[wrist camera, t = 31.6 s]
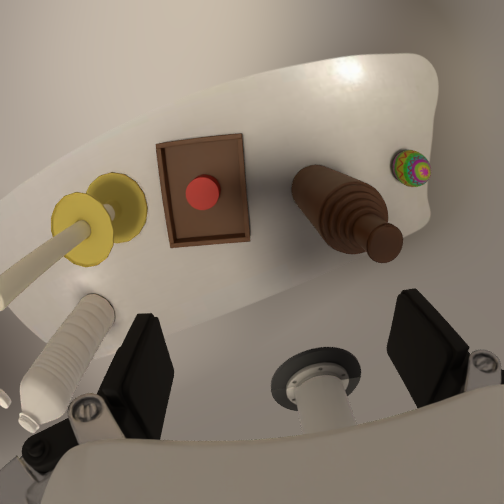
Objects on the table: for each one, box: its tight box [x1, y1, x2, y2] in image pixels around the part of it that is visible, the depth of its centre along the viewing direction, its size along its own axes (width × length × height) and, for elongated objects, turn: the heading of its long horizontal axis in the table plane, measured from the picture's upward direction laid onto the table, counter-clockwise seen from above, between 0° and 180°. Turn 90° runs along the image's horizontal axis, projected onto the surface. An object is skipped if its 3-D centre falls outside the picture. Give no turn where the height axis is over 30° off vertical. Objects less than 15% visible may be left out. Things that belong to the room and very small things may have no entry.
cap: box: [186, 175, 221, 210], centre depth 35 cm, size 4×4×3 cm
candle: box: [0, 172, 148, 311], centre depth 24 cm, size 10×10×27 cm
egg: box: [393, 150, 431, 187], centre depth 33 cm, size 5×5×6 cm
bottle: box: [291, 165, 403, 263], centre depth 28 cm, size 6×6×20 cm
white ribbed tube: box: [0, 294, 115, 433], centre depth 31 cm, size 9×6×25 cm
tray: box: [156, 134, 250, 248], centre depth 35 cm, size 13×10×2 cm
